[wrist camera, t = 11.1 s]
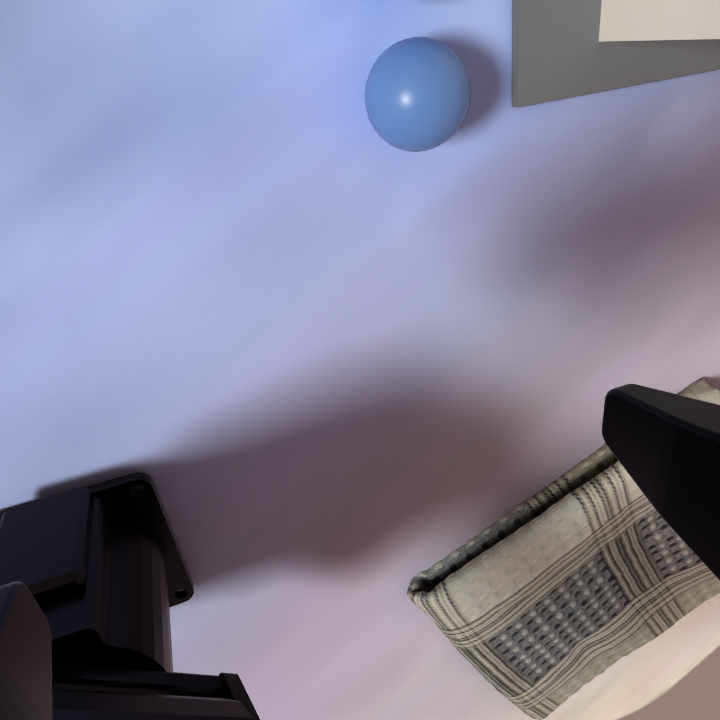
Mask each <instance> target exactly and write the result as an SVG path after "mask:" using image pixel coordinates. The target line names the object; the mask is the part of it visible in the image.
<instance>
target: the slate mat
mask: <svg viewBox="0 0 720 720" xmlns="http://www.w3.org/2000/svg"><path fill="white" fill-rule="evenodd" d="M601 3H602V0H512V107H523V106H529V105H534V104H539V103H545V102H550V101H555V100H560V99H566V98H571V97H576V96H581V95H587V94H592V93H597V92H603V91H608V90H613V89H618V88H624V87H629V86H634V85H639V84H645V83H650V82H655V81H661V80H666V79H671V78H676V77H682V76H687V75H692V74H697V73H703V72H708V71H713V70H719V69H720V39H697V40H650V41H603V42H599V30H600V16H601Z"/></svg>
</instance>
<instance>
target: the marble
mask: <svg viewBox="0 0 720 720" xmlns="http://www.w3.org/2000/svg"><path fill="white" fill-rule="evenodd" d="M469 99H470V85H469V79H468V75H467V72H466V69H465V67H464V65H463V63H462V61H461V60H460V58H459V57H458V56H457V55H456V53H455V52H454V51H453V50H452V49H451V48H449V47H448V46H447V45H445V44H443V43H442V42H439V41H437V40H435V39H431V38H425V37H413V38H408V39H404V40H402V41H399V42H397V43H395V44H394V45H392V46H390V47H389V48H388V49H387V50H385V51H384V52H383V53H382V54H381V55H380V56H379V58H378V59H377V60H376V62H375V63H374V65H373V67H372V69H371V71H370V73H369V76H368V79H367V83H366V89H365V105H366V111H367V114H368V117H369V120H370V122H371V124H372V126H373V128H374V129H375V131H376V132H377V133H378V134H379V136H380V137H381V138H382V139H383V140H385V141H386V142H387V143H389V144H390V145H392V146H394V147H396V148H398V149H401V150H405V151H411V152H419V151H426V150H430V149H433V148H435V147H437V146H439V145H441V144H442V143H444V142H446V141H447V140H448V139H449V138H450V137H451V136H452V135H453V134H454V133H455V132H456V131H457V130H458V128H459V127H460V125H461V123H462V122H463V120H464V118H465V115H466V113H467V110H468V105H469Z"/></svg>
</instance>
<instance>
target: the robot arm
mask: <svg viewBox="0 0 720 720" xmlns="http://www.w3.org/2000/svg"><path fill="white" fill-rule="evenodd" d="M602 434H603V438H604V441H605V443H606V444H607V446H608V447H609V449H610V450H611V451H612V453H613V454H614V455H615V457H616V458H617V459H618V461H619V462H620V463H621V465H622V466H623V467H624V469H625V470H626V471H627V473H628V474H629V475H630V477H631V478H632V479H633V481H634V482H635V483H636V484H637V486H638V487H639V488H640V490H641V491H642V492H643V494H644V495H645V496H646V498H647V499H648V500H649V502H650V503H651V504H652V506H653V507H654V508H655V509H656V511H657V512H658V513H659V514H660V516H661V517H662V518H663V519H664V520H665V521H666V523H667V524H668V525H669V526H670V527H671V528H672V529H673V531H674V532H675V533H676V534H677V535H678V536H679V537H680V538H681V539H682V540H683V541H684V542H685V544H686V545H687V546H688V547H689V548H690V549H691V550H692V551H693V552H694V553H695V554H696V556H697V557H698V558H699V559H700V560H701V561H702V562H703V563H704V564H705V565H706V566H707V567H708V569H709V570H710V571H711V572H712V573H713V574H714V575H715V576H716V577H717V578H718V579H719V581H720V405H718V404H714V403H710V402H706V401H701V400H697V399H693V398H689V397H685V396H681V395H677V394H673V393H669V392H665V391H661V390H657V389H652V388H648V387H644V386H640V385H636V384H627V385H624V386H621V387H617V388H614V389H612V390H610V391H609V392H608V393H607V395H606V397H605V404H604V414H603V423H602ZM136 485H141V486H144V488H142V489H140V490H135V489H133V488H132V487H134V486H136ZM180 589H184V590H182V591H177V590H180ZM193 593H194V591H193V582H192V579H191V577H190V574H189V572H188V569H187V567H186V564H185V561H184V559H183V556H182V554H181V551H180V549H179V546H178V544H177V541H176V539H175V536H174V533H173V531H172V528H171V526H170V523H169V521H168V518H167V516H166V513H165V511H164V508H163V506H162V503H161V500H160V498H159V495H158V493H157V490H156V488H155V485H154V483H153V480H152V479H151V477H150V476H149V475H147V474H145V473H133V474H130V475H127V476H123V477H120V478H117V479H113V480H110V481H106V482H103V483H100V484H96V485H93V486H90V487H86V488H78V489H75V490H72V491H68V492H65V493H62V494H58V495H55V496H51V497H48V498H45V499H41V500H38V501H35V502H31V503H28V504H24V505H21V506H18V507H14V508H11V509H8V510H6V511H5V512H2V513H0V720H260V719H259V717H258V715H257V712H256V710H255V708H254V706H253V704H252V702H251V700H250V698H249V696H248V694H247V692H246V690H245V688H244V686H243V684H242V682H241V680H240V678H239V676H238V674H232V673H220V674H219V676H214V675H202V674H189V673H177V672H173V662H172V645H171V628H170V611H169V607H172V606H175V605H177V604H180V603H183V602H185V601H187V600H189V599H190V598H191V597H192V596H193Z"/></svg>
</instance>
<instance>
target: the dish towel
mask: <svg viewBox="0 0 720 720" xmlns="http://www.w3.org/2000/svg"><path fill="white" fill-rule="evenodd" d="M677 395H681V396H685V397H689V398H693V399H697V400H701V401H706V402H710V403H714V404H718V405H720V391H719V390H718V389H716V388H714V387H711V386H710V385H709V384H708V383H707V382H706V380H705V379H703V378H702V379H699V380H698V381H696V382H694V383H693V384H691V385H690V386H688V387H687V388H686V389H684V390H683V391H682V392H680V393H679V394H677ZM718 593H720V581H719V579H718V578H717V577H716V576H715V575H714V574H713V573H712V572H711V571H710V570H709V569H708V567H707V566H706V565H705V564H704V563H703V562H702V561H701V560H700V559H699V558H698V557H697V556H696V554H695V553H694V552H693V551H692V550H691V549H690V548H689V547H688V546H687V545H686V544H685V542H684V541H683V540H682V539H681V538H680V537H679V536H678V535H677V534H676V533H675V532H674V531H673V529H672V528H671V527H670V526H669V525H668V524H667V523H666V521H665V520H664V519H663V518H662V517H661V516H660V514H659V513H658V512H657V511H656V509H655V508H654V507H653V506H652V504H651V503H650V502H649V500H648V499H647V498H646V496H645V495H644V494H643V492H642V491H641V490H640V488H639V487H638V486H637V484H636V483H635V482H634V481H633V479H632V478H631V477H630V475H629V474H628V473H627V471H626V470H625V469H624V467H623V466H622V465H621V463H620V462H619V461H618V459H617V458H616V457H615V455H614V454H613V453H612V451H611V450H610V449H609V447H608V446H607V444H605V445H604V446H602V447H601V448H599V449H598V450H596V451H595V452H594V453H592V454H591V455H590V456H589V457H587V458H586V459H584V460H583V461H581V462H580V463H579V464H577V465H576V466H574V467H573V468H572V469H571V470H569V471H567V472H566V473H565V474H563V475H562V476H561V477H559V478H558V479H557V480H555V481H554V482H552V483H551V484H550V485H548V486H547V487H546V488H544V489H543V490H541V491H540V492H539V493H537V494H536V495H534V496H533V497H531V498H529V499H528V500H526V501H525V502H523V503H522V504H520V505H518V506H516V507H515V508H514V509H513V510H512V511H510V512H509V513H508V514H506V515H504V516H503V517H501V518H499V519H498V520H497V521H496V522H495V523H493V524H492V525H491V526H489V527H487V528H485V529H484V530H483V531H482V532H480V533H479V534H478V535H477V536H475V537H474V538H472V539H470V540H469V541H467V542H466V543H465V544H464V545H463V546H461V547H460V548H458V549H457V550H455V551H453V552H451V553H450V554H449V555H448V556H447V557H445V558H444V559H443V560H441V561H439V562H437V563H436V564H434V565H433V566H432V567H431V568H429V569H428V570H426V571H423V572H421V573H419V574H418V575H417V576H415V577H414V578H413V579H412V580H411V582H410V585H409V588H408V591H407V595H408V597H409V598H410V599H411V601H412V602H413V603H414V604H415V605H417V606H418V607H419V608H421V609H422V610H423V611H424V612H425V613H426V614H427V615H429V616H430V617H431V619H432V620H433V621H434V622H435V624H436V625H437V626H438V627H439V629H440V630H441V631H442V632H443V633H444V634H445V635H446V636H447V637H448V638H449V639H450V641H451V642H452V644H453V645H454V646H455V647H456V648H457V650H458V651H459V652H460V653H461V654H462V655H463V656H464V657H465V658H466V659H467V660H468V661H469V662H470V663H471V664H472V665H473V666H474V667H475V668H476V669H477V670H478V671H479V672H480V673H481V674H482V675H483V676H484V677H485V679H486V680H488V681H489V682H490V683H491V684H492V685H493V686H494V687H495V688H496V689H497V690H498V691H499V692H500V693H502V694H503V695H504V696H505V697H507V698H508V699H509V700H510V701H511V702H512V703H513V704H515V705H516V706H517V707H518V708H519V709H520V710H522V711H523V712H524V713H525V714H527V715H528V716H529V717H531V718H534V719H538V720H541V719H545V718H546V717H547V716H548V715H549V714H550V713H551V712H553V711H554V710H555V709H556V708H557V707H558V706H559V705H560V704H562V703H563V702H565V701H566V700H567V698H568V697H569V696H571V695H572V694H574V693H576V692H577V691H578V690H579V689H580V688H581V687H582V686H583V685H584V684H586V683H588V682H590V681H591V680H592V679H593V678H594V677H595V676H597V675H599V674H601V673H603V672H604V671H605V670H606V669H607V668H608V667H609V666H611V665H612V664H614V663H615V662H616V661H617V660H618V659H620V658H621V657H624V656H627V655H628V654H630V653H631V652H632V651H634V650H636V649H638V648H640V647H641V646H643V645H645V644H646V643H648V642H649V641H651V640H653V639H655V638H656V637H658V636H659V635H660V634H662V633H663V632H665V631H666V630H667V629H669V628H670V627H671V626H672V625H674V624H675V623H676V622H677V621H678V620H679V619H680V618H682V617H683V616H685V615H686V614H688V613H689V612H690V611H692V610H693V609H695V608H696V607H698V606H699V605H700V604H702V603H703V602H704V601H706V600H707V599H709V598H711V597H712V596H714V595H716V594H718Z"/></svg>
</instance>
